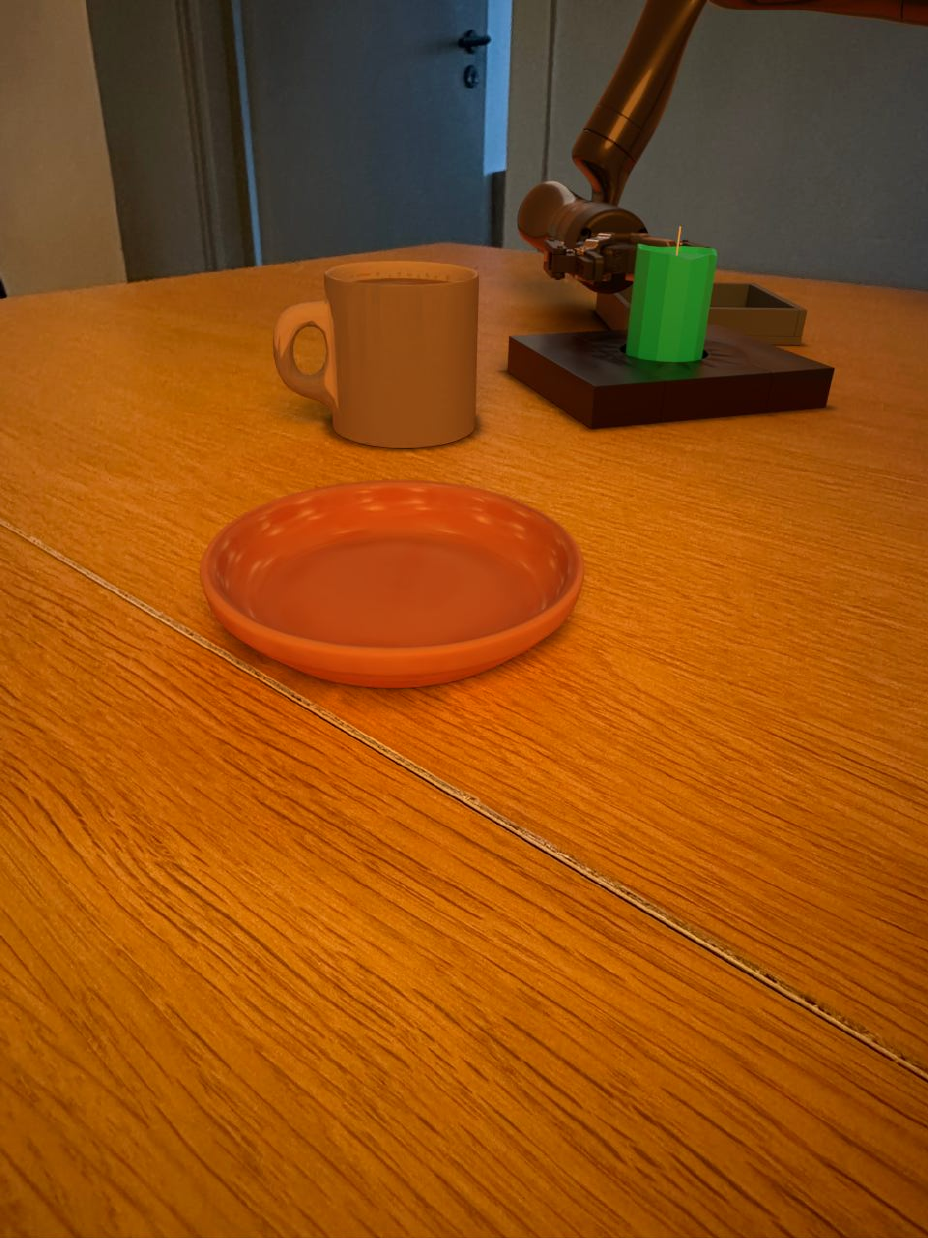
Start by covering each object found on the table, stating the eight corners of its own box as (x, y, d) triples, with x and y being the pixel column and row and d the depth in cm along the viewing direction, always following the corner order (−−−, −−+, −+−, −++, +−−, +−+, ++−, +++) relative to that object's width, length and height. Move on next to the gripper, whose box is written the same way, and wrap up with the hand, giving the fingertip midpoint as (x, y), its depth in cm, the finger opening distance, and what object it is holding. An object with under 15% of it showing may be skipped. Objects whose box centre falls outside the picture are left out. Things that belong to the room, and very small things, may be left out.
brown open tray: (749, 313, 98) (754, 282, 96) (800, 345, 85) (808, 309, 83) (595, 311, 97) (598, 280, 96) (622, 342, 84) (626, 307, 82)
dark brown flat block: (709, 357, 79) (715, 324, 78) (826, 407, 66) (835, 367, 65) (507, 371, 74) (508, 335, 72) (590, 429, 60) (595, 386, 59)
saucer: (616, 711, 32) (626, 641, 30) (172, 725, 30) (158, 653, 29) (546, 530, 46) (550, 476, 44) (237, 534, 44) (231, 479, 43)
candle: (613, 393, 68) (631, 227, 62) (629, 375, 73) (647, 220, 67) (690, 402, 67) (716, 233, 61) (701, 383, 71) (726, 224, 65)
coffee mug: (469, 403, 65) (472, 261, 60) (481, 447, 57) (485, 285, 52) (289, 403, 64) (277, 259, 59) (273, 448, 56) (258, 284, 51)
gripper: (530, 202, 82) (568, 221, 68) (675, 204, 83) (742, 222, 70) (525, 286, 86) (561, 320, 72) (664, 286, 87) (726, 319, 73)
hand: (650, 272), depth 71 cm, fingers open, 8 cm apart
